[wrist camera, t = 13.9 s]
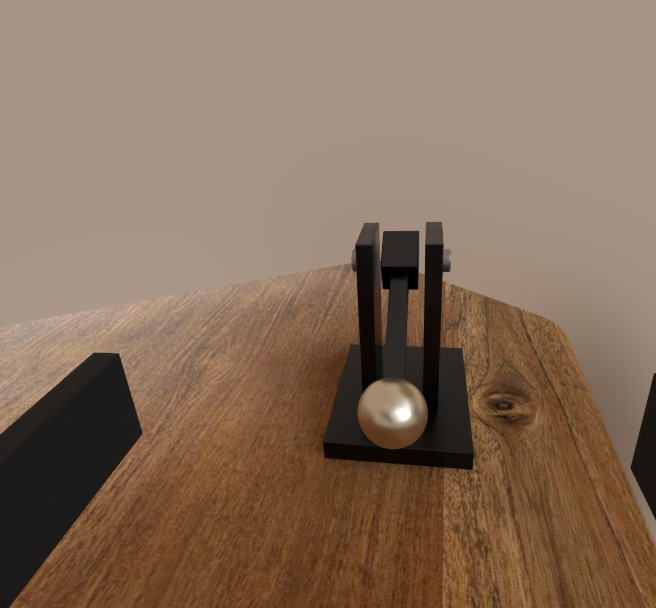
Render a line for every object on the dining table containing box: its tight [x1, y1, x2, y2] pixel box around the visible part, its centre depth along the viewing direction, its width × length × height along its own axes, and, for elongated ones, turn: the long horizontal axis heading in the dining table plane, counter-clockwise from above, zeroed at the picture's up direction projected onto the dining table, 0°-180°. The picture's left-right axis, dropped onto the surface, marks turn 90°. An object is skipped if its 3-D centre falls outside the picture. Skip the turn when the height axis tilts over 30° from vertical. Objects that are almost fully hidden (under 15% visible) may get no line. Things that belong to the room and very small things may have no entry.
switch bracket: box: [323, 222, 474, 470], centre depth 33 cm, size 12×9×13 cm
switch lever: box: [357, 231, 428, 449], centre depth 28 cm, size 13×4×4 cm
